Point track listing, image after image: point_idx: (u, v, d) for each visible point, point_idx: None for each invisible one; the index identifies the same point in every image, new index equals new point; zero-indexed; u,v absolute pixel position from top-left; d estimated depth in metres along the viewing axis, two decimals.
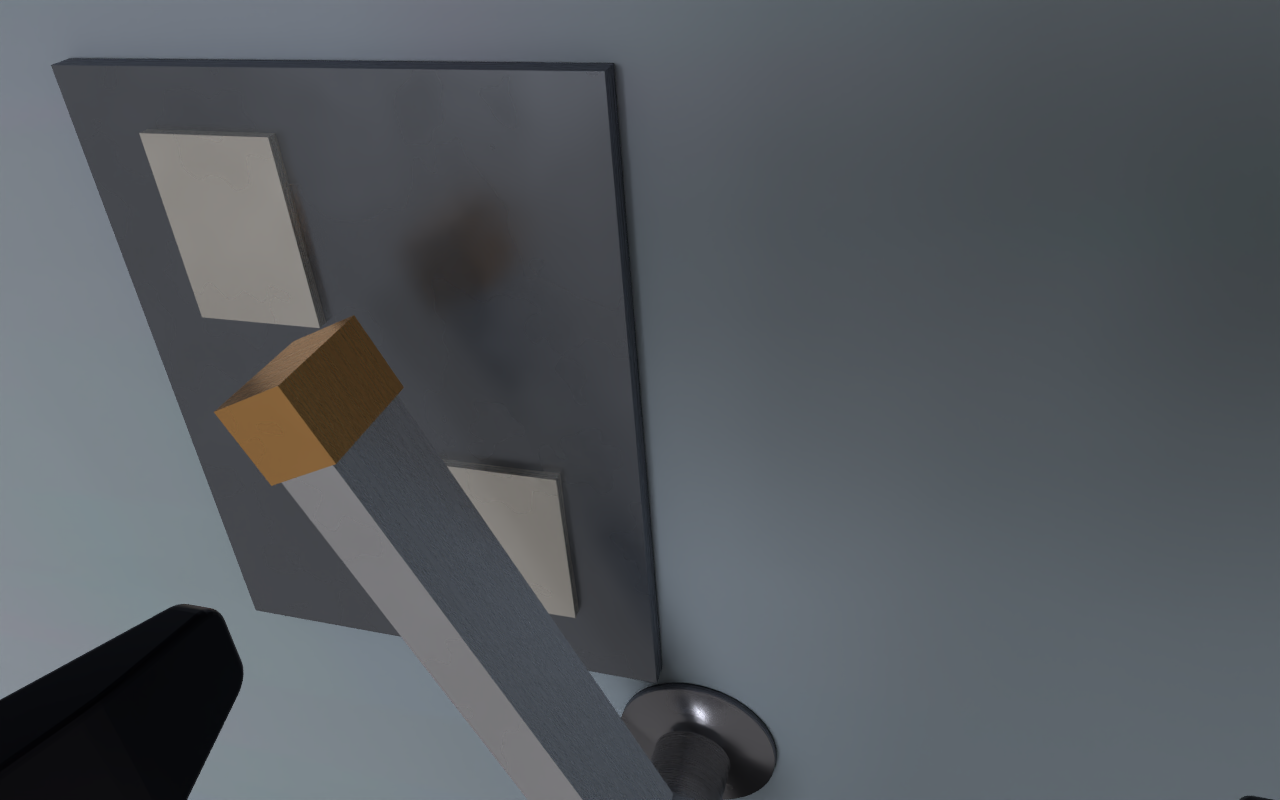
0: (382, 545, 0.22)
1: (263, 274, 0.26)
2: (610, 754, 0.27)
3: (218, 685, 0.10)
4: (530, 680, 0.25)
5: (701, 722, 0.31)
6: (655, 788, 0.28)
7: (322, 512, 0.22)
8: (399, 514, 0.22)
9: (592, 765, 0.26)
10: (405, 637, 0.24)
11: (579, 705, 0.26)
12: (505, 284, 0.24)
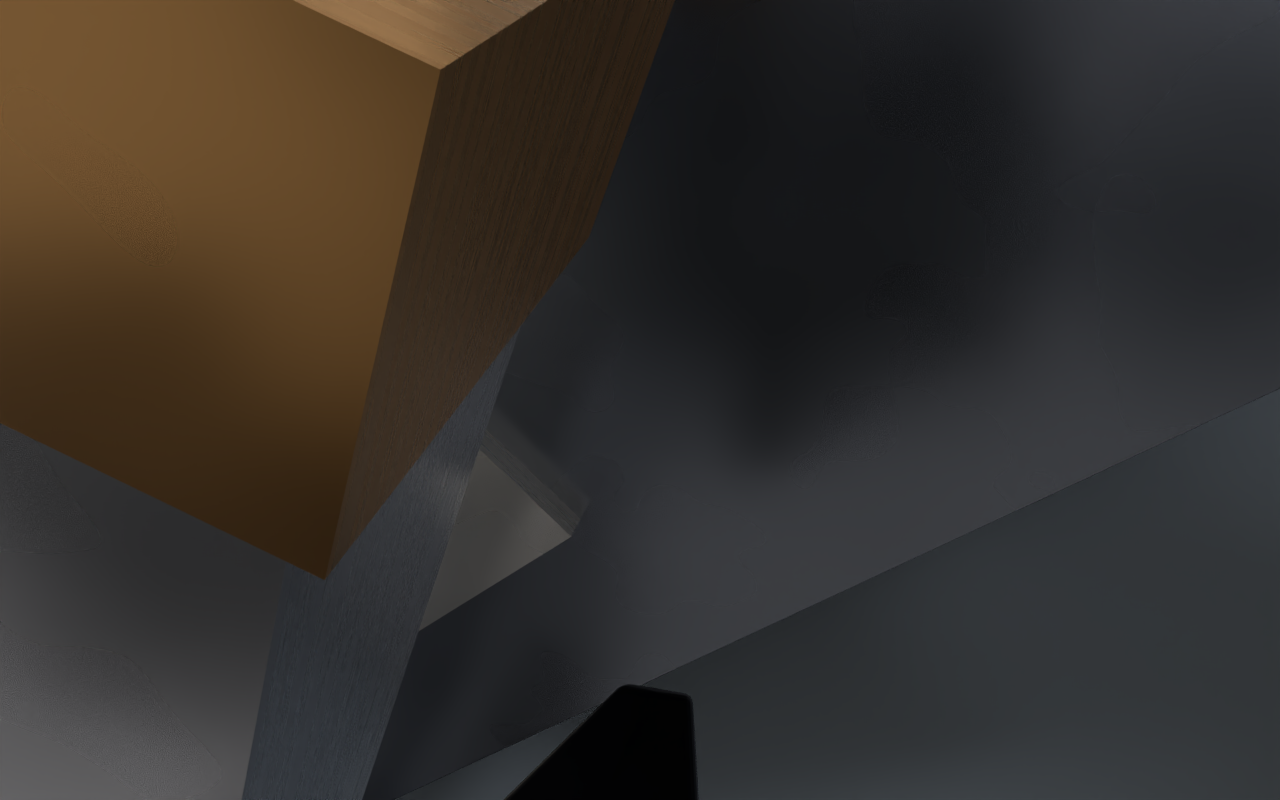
0: (191, 797, 0.05)
1: None
2: None
3: None
4: None
5: None
6: None
7: (25, 573, 0.04)
8: (316, 688, 0.05)
9: None
10: None
11: None
12: (987, 153, 0.08)
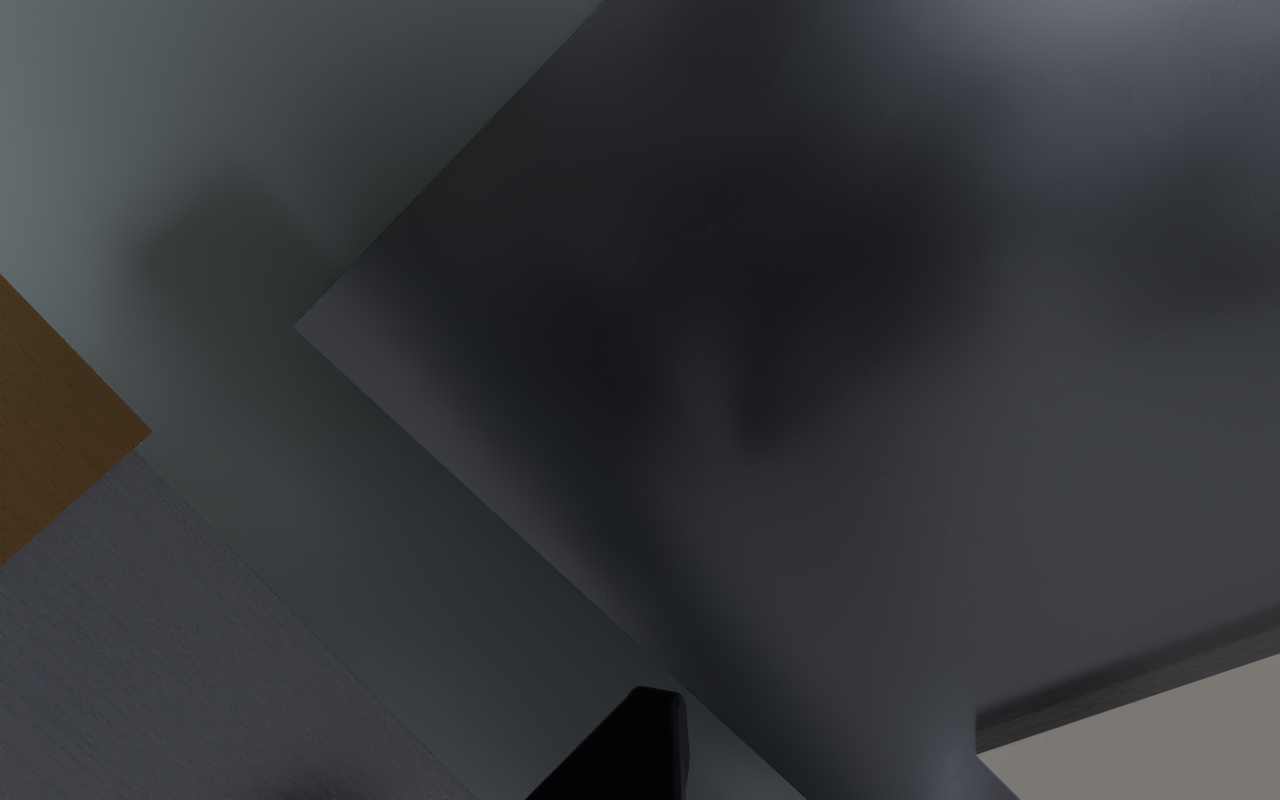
0: None
1: None
2: None
3: None
4: None
5: None
6: None
7: None
8: None
9: None
10: None
11: None
12: None
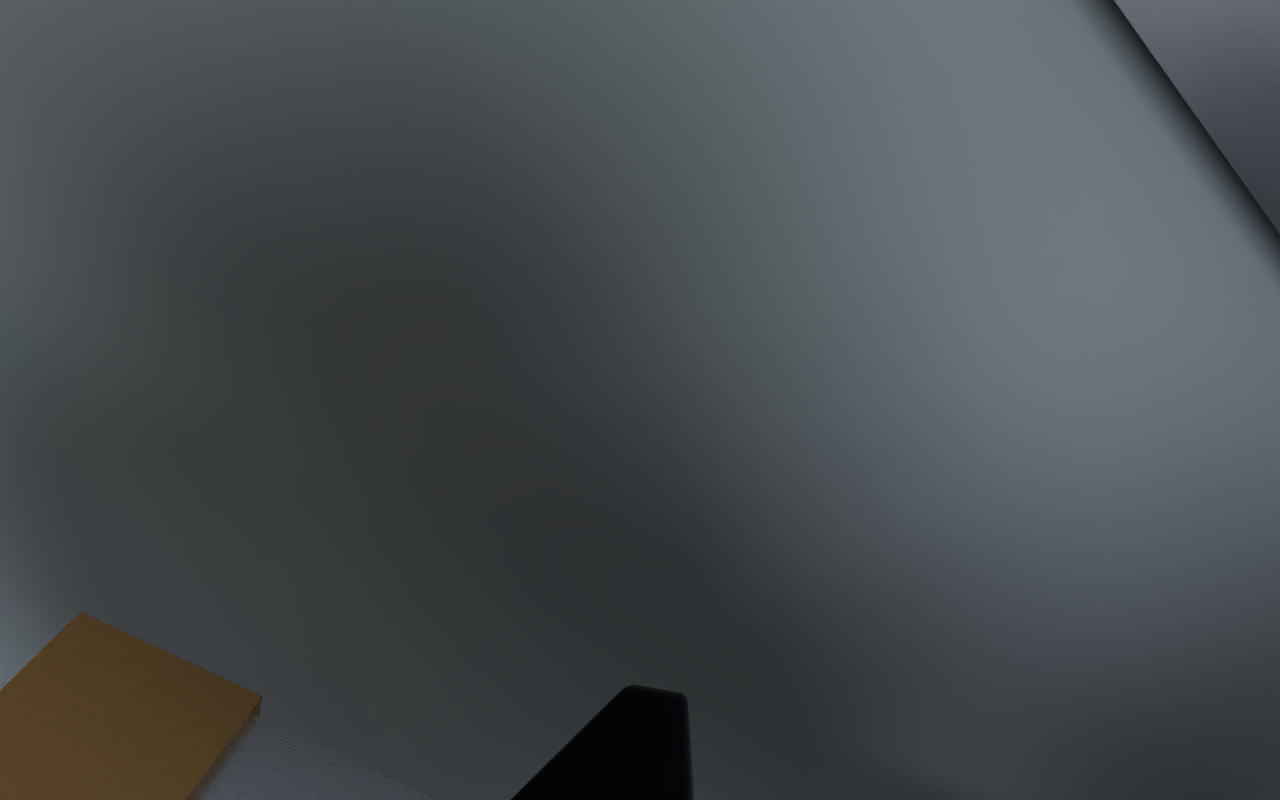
0: None
1: None
2: None
3: None
4: None
5: None
6: None
7: None
8: None
9: None
10: None
11: None
12: None
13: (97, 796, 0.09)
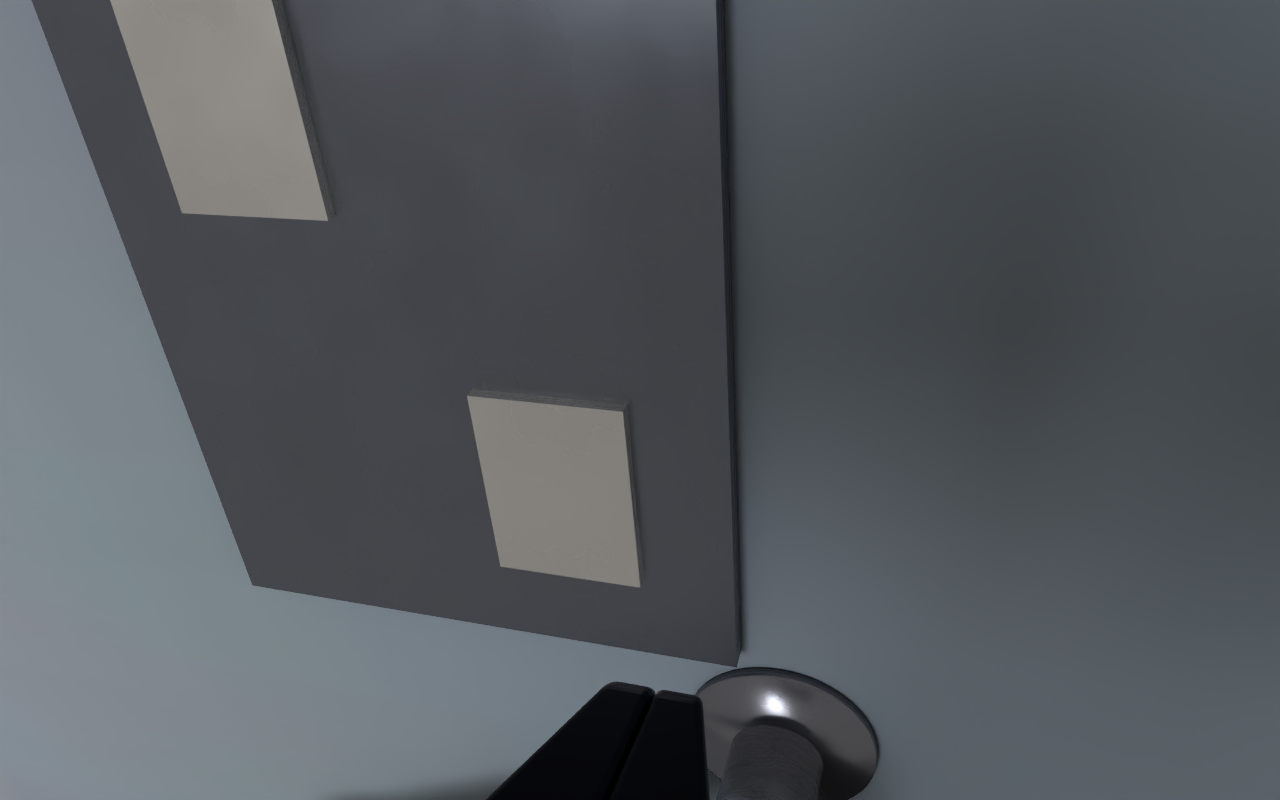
0: None
1: (257, 151, 0.20)
2: None
3: None
4: None
5: (788, 715, 0.26)
6: None
7: None
8: None
9: None
10: None
11: None
12: (565, 152, 0.19)
13: None
